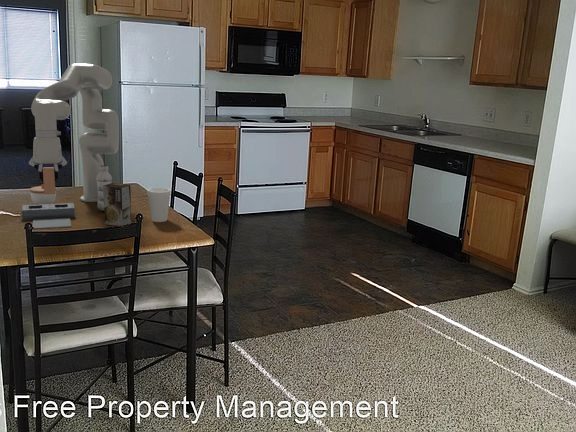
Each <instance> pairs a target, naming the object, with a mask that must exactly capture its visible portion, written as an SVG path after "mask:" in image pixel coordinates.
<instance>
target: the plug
mask: <svg viewBox="0 0 576 432" xmlns="http://www.w3.org/2000/svg"><path fill="white" fill-rule="evenodd" d="M42 169H43V180H44V182H43V185H44V194H55V188H56V182H55V177H54V169H55V167H54V166H50V167H47V166H46V167H42Z"/></svg>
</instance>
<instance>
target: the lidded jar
mask: <svg viewBox="0 0 576 432" xmlns="http://www.w3.org/2000/svg"><path fill="white" fill-rule="evenodd" d="M56 191H57V188H56V187H55V194H44V184H41V185H39V186H33V187H30V188H29V193H30V198H31V202H32V203H34V204H33V205H37V204H54V203H55V201H56V196H57V192H56Z"/></svg>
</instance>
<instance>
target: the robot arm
mask: <svg viewBox="0 0 576 432" xmlns="http://www.w3.org/2000/svg"><path fill="white" fill-rule="evenodd" d="M112 85H113V77H112V74H111V72H110V71H109V70H108V69H106V68H105V67H102V66H100V65H97V64H93V63H71V64H70V65H69V66H67V68H66V69H65V71H64V72H63V74H62V75H61V77H60V79H59V80H58V81H57V82H55V83H53V84H51V85H49V86H47V87H45V88H43V89H41V90H40V91H39V92H38V93H37V94H36V96H35V97H34V99H33V101H32V103H31V109H30V110H31V113H32V115H33V117H34V124H35V137H34V138H33V145H32V148H33V149H32V151H33V152H32V153H33V155H32V157H31V159H30V160H29V161H28V165H30V166H32V167H33V168H34V169H36V170H37V171H38V175H39V180H41V182H42V183H44V180H43V165H49V164H50V165H53V167H54V177H55V183H56V182H57V180H58V179H59V171H60V170H61V169H62V168H63V167H64V166H66V165H67V164H68V161H67V160H66V159H65V157H64V156H63V155H62V154H63V152H62V145H61V139H60V137H58V136H62V131H59V130H58V128H57V127H58V126H57V125H58V124H57V121H58V120H59V121H63V120H66V119H68V118H69V116H70V115H71V110H72V109H71V106H70V104H69V103H68V102H66V101H67V100H70V99H74V98H75V97H76V96H77V95H78V93H80V95H81V99H82V100H81V101H82V105H81V106H82V116H81V117H82V124H83V127H84V128H85V129H88V130H96V131H97V130H98V131H105V132H91V131H89V132H83V133H82V134H81V135H80V136H79V139H78V145H79V149H80V154H81V163H82V165H81V167H82V184H83V185H82V187H83V189H82V190H83V191H82V192H83V195H81V196H80V198H79V200H80V201H82V202H86V203H98V185H97V180H96V178H97V175H98V173H99V172H100V170H99V166H101V165H105V164H104V160H103V158H102V157H101V154H102V155H114V154H117V152H118V150H119V143H120V140H119V139H120V137H119V136H120V132H119V131H120V121H119V115H118V113H117V112H116V111H115V110H113V109H109V108H107V109H106V108H103V97H102V95H101V93H100V92H99V90H108V89H110V88H111V87H112Z"/></svg>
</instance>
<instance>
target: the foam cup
mask: <svg viewBox="0 0 576 432" xmlns="http://www.w3.org/2000/svg"><path fill="white" fill-rule="evenodd" d="M146 194H147V198H148V199H147V200H148V206H149V212H150V213H149V214H150V218H151V219H150V220H151V221H152V222H153V223H162V222H167V220H168V214H169V206H170V198H171V197H170V196H171V194H172V193H171V189H170V188H167V187H151V188H148V189H147V190H146Z"/></svg>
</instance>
